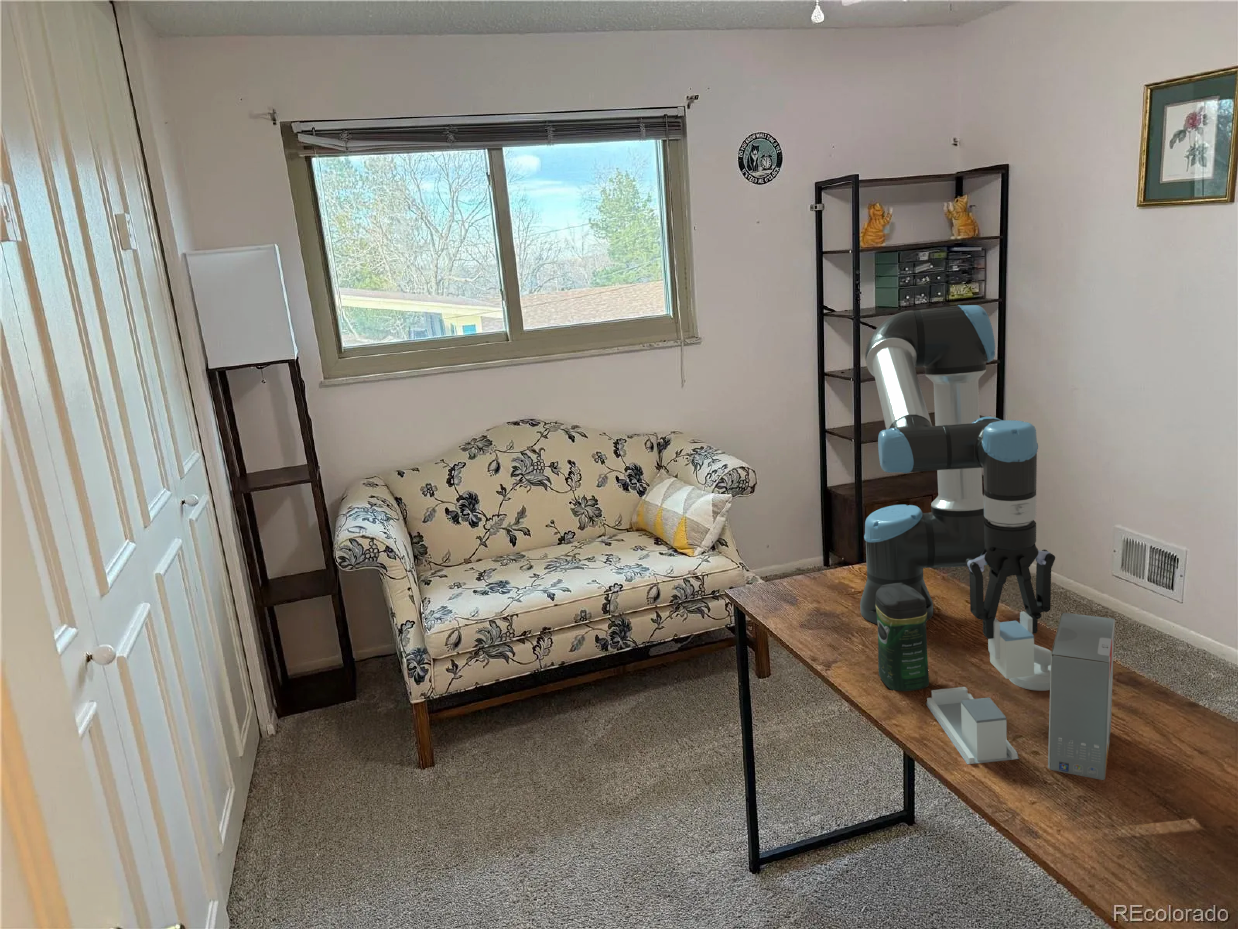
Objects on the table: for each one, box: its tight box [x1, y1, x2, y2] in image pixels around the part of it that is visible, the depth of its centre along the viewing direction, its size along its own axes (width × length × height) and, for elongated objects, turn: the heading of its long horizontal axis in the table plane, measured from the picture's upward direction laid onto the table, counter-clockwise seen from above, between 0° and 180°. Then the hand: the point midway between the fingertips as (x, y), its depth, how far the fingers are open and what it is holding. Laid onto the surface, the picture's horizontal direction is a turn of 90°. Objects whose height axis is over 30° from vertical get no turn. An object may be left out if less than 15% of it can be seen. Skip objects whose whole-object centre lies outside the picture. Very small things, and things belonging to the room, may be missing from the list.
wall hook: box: [1009, 643, 1052, 692], centre depth 150 cm, size 9×10×10 cm
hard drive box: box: [1047, 612, 1116, 781], centre depth 129 cm, size 16×8×20 cm, turn 148°
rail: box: [925, 686, 1020, 765], centre depth 138 cm, size 18×8×3 cm, turn 0°
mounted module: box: [961, 697, 1008, 761], centre depth 132 cm, size 6×4×7 cm
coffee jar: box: [875, 583, 930, 692], centre depth 155 cm, size 10×8×19 cm
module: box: [989, 620, 1035, 680], centre depth 139 cm, size 6×4×7 cm
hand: (1010, 652), depth 139 cm, fingers closed on module, 4 cm apart
